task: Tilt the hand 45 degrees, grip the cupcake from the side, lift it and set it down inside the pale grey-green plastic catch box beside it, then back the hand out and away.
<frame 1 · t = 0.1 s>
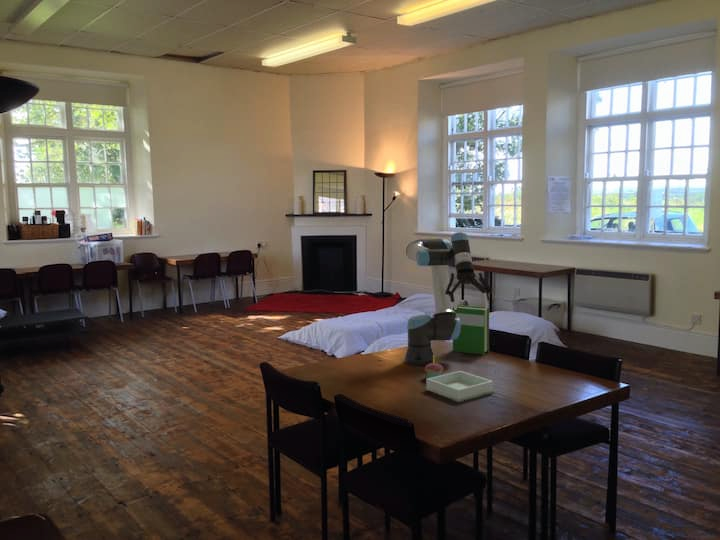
hand: (471, 308, 259), 36 cm above the table, fingers open, 13 cm apart
hardback book: (470, 351, 328), on the table
catch box: (459, 391, 261), on the table
cupcake: (434, 378, 281), on the table
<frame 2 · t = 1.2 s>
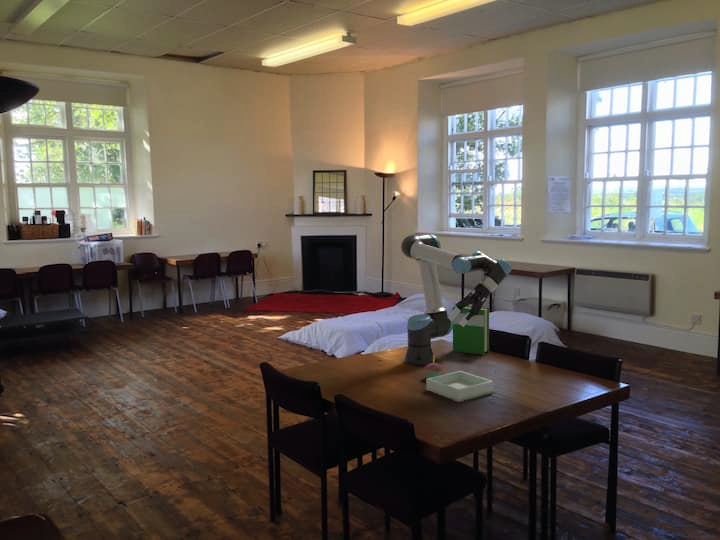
hand: (455, 322, 280), 26 cm above the table, fingers open, 13 cm apart
nothing on the table moved.
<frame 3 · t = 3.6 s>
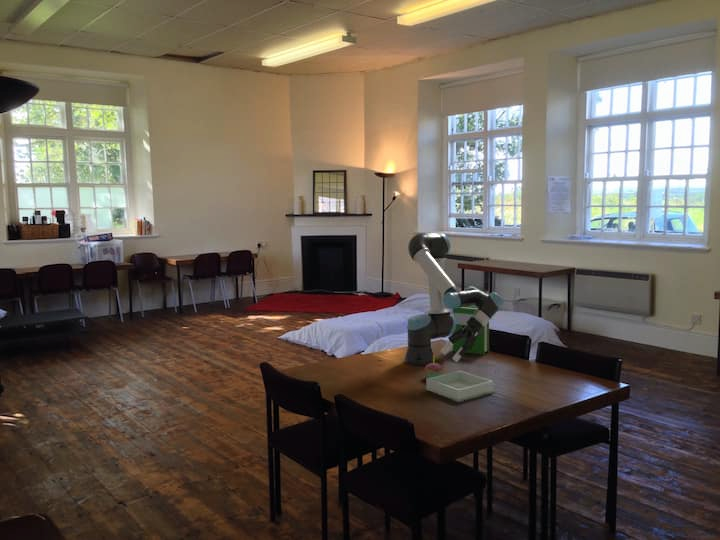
hand: (448, 356, 279), 10 cm above the table, fingers open, 13 cm apart
nothing on the table moved.
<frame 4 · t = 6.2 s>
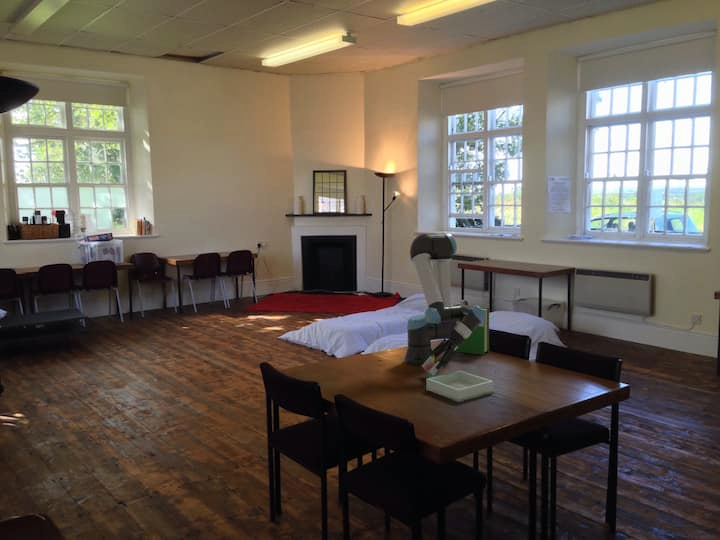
hand: (427, 370, 279), 4 cm above the table, fingers closed on cupcake, 9 cm apart
cupcake: (434, 378, 281), on the table, touching gripper
everything else where it was.
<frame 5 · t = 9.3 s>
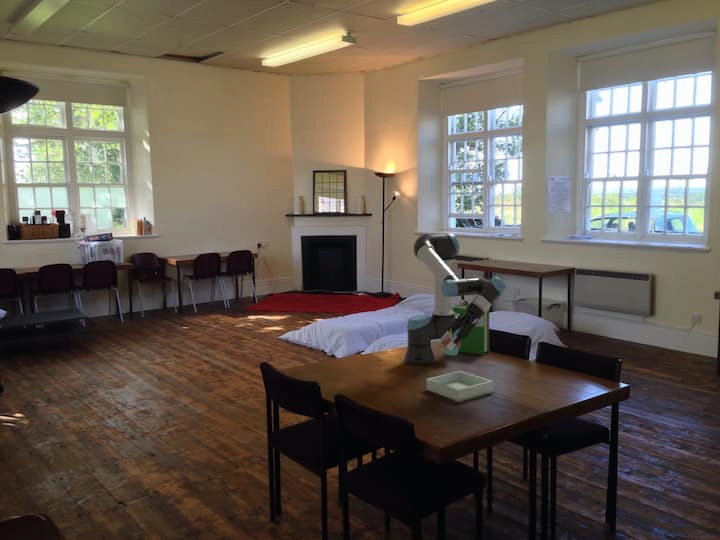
hand: (444, 346, 264), 19 cm above the table, fingers closed on cupcake, 9 cm apart
cupcake: (451, 354, 265), point 15 cm above the table, touching gripper
everything else where it was.
when the fingers open (6 cm above the table, at t = 12.4 s): cupcake drops 1 cm, resting on catch box.
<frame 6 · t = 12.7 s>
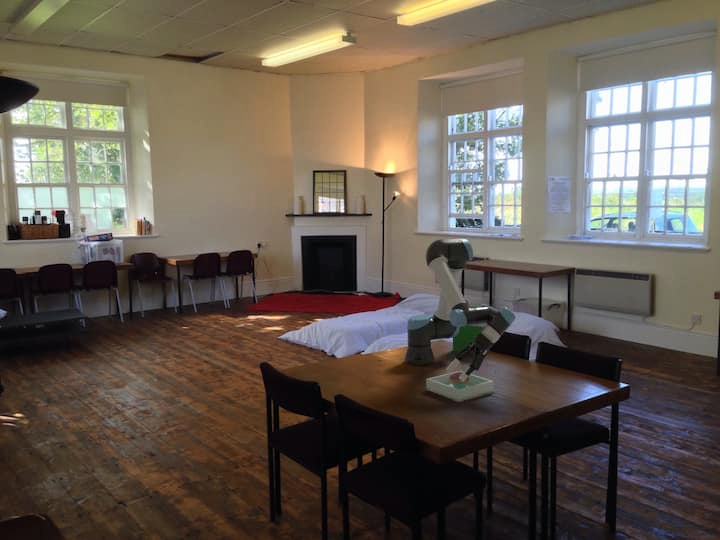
hand: (454, 375, 260), 7 cm above the table, fingers open, 13 cm apart
cupcake: (459, 389, 261), point 1 cm above the table, touching catch box
everything else where it was.
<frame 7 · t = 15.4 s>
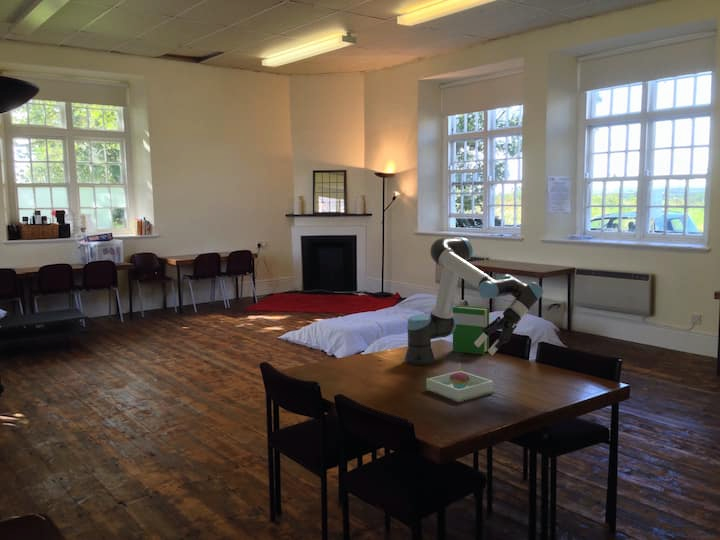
hand: (482, 349, 262), 17 cm above the table, fingers open, 13 cm apart
nothing on the table moved.
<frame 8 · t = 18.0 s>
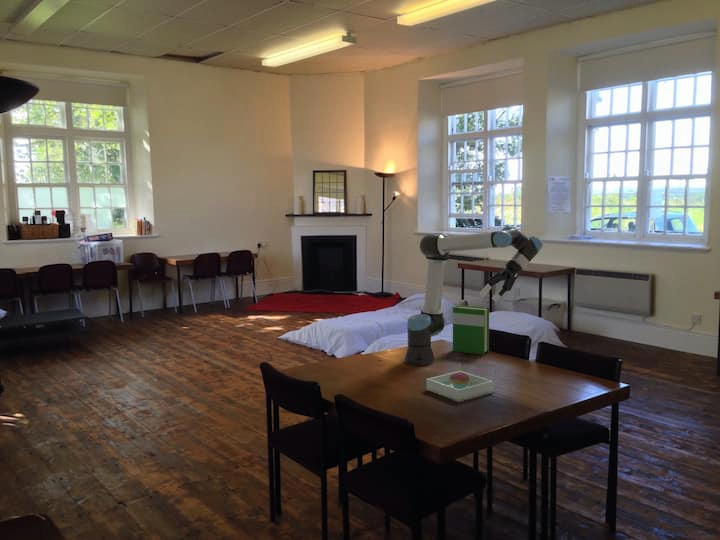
hand: (487, 297, 284), 36 cm above the table, fingers open, 13 cm apart
nothing on the table moved.
at the end: cupcake inside the target area on the catch box (0.0 cm from its centre), point 0.8 cm above the catch box's base; cupcake tilted 0°; the gripper is holding nothing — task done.
